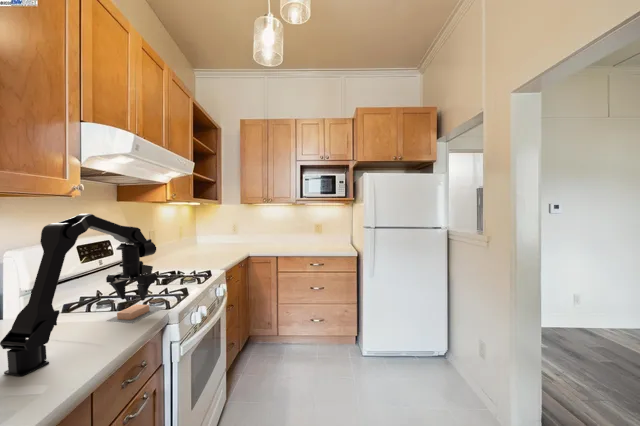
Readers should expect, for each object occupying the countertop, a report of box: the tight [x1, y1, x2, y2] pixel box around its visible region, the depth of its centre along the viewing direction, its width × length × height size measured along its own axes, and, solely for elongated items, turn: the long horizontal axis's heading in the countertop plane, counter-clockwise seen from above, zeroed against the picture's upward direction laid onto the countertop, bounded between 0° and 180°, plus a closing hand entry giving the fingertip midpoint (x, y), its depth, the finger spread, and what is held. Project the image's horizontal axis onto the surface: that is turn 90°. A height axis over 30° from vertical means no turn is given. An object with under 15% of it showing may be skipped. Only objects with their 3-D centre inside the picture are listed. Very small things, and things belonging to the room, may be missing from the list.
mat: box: [106, 305, 166, 324], centre depth 114 cm, size 16×12×1 cm
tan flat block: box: [116, 303, 150, 320], centre depth 113 cm, size 2×6×9 cm
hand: (133, 299), depth 113 cm, fingers open, 9 cm apart
